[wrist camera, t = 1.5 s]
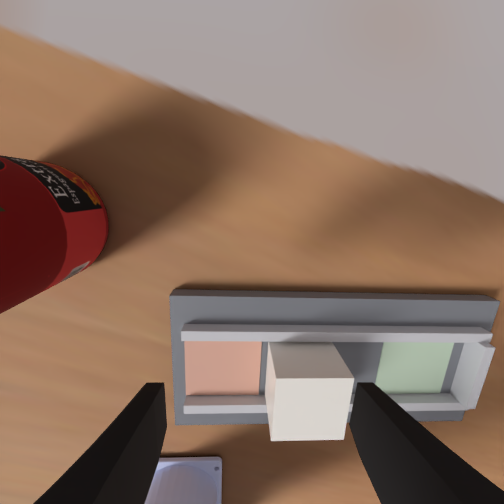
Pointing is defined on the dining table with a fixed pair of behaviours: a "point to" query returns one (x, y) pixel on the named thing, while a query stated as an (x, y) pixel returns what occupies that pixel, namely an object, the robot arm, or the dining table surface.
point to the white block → (307, 391)
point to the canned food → (45, 227)
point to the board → (344, 339)
